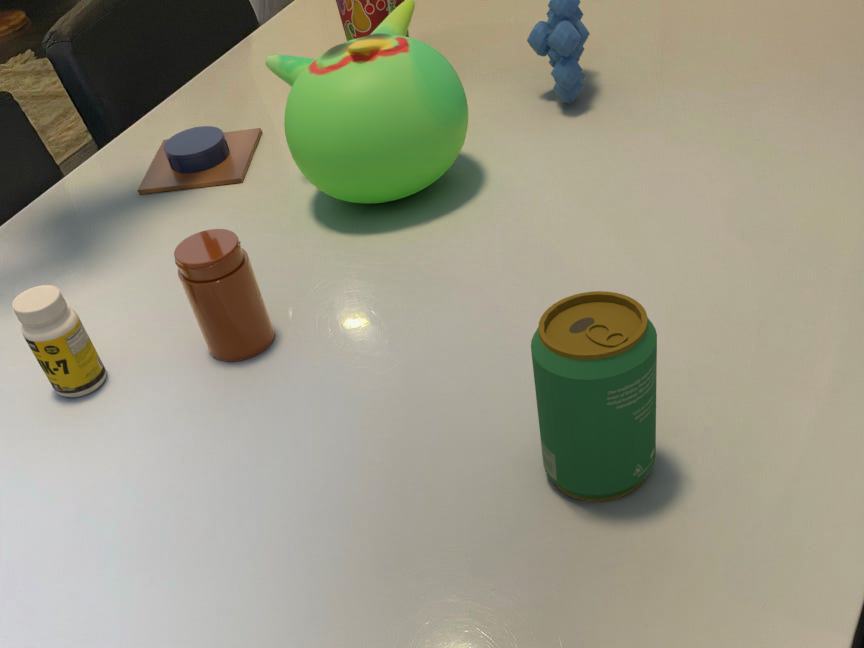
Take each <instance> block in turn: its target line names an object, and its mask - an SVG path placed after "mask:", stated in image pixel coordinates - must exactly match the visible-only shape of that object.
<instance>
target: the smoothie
mask: <svg viewBox="0 0 864 648" xmlns="http://www.w3.org/2000/svg"><path fill="white" fill-rule="evenodd" d="M404 1H406V0H335V2H336V6H337V10H338V13H339V18H340V20H341V24H342V28H343V32H344V35H345V38H346V39H345V40H346V42H347V41H350V40H353V39H357V38H361V37H366V36H368V35H370V34H371V33H372V32H373V31H374V30H375V29H376V28H377V27H378V26H379V25H380V24H381V23H382V22H383V20H384V19H385V18H386V17H387V16H388V15H389V14H390V13H391V12H392V11H393V10H394V9H395V8H396V7H397V6H399V5H400V4H401V3H402V2H404ZM406 37H410V33H409V29H408V30H407V33H406Z"/></svg>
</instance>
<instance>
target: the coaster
mask: <svg viewBox="0 0 864 648" xmlns="http://www.w3.org/2000/svg"><path fill="white" fill-rule="evenodd" d="M262 133H263V131H262V128H261V127H256V128H248V129H241V130H240V129H239V130H233V131H225V132H224V131H223V134H224V137H225V140H226V141H227V144H228V147H229V155H228V156H227V158H226V159H225V160H224V161H223V162H221V163H220V164H218V165H217V166H215V167H212V168H210V169H207V170H204V171H200V172H195V173H179V172H176V171H174V170H172V168H171V167H170V164H169V162H168V159H167V157H166V154H165V151H164V144H165V143H166V141H167V140H168V139H169V138H168V139H163V140H162V142H161V144H160V146H159V147H158V150H157V152H156V154H155V155H154V158H153V159H152V161H151V163H150V165H149V167H148V169H147V171H146V173H145V174H144V176H143V179H142V180H141V182H140V184H139V186H138V188H137V194H138V195H145V194H155V193H165V192H172V191H180V190H181V191H182V190H190V189H198V188H206V187H207V188H208V187H216V186H223V185H231V184H232V185H233V184H240V183H243V182H244V180H245V177H246V175H247V172H248V169H249V166H250V164H251V162H252V161H251V160H252V159H253V156H254V154H255V151H256V148H257V145H258V143H259V141H260V138H261V136H262Z"/></svg>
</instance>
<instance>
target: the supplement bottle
mask: <svg viewBox="0 0 864 648" xmlns="http://www.w3.org/2000/svg"><path fill="white" fill-rule="evenodd" d="M66 301H67V300H66V299H65V297H64V295H63V294H62V292H61V291H60V289H59V288H58V287H57V286H55V285H51V284H42V285H37V286H33V287H30V288H28V289H26V290H25V291H22V292H20V293H19V294H18V295H17V296H16V297H15V298H14V299H13V300H12V303H11V307H12V310H13V312H14V314H15V315H16V318H17V320H18V321H19V322H20V324H21V326H20V331H21V335H22V336H23V338H24V340H25V342H26V344H27V346H28V347H29V349H30V350H31V352H32V354H33V356H34V357H35V359H36V362H38V364H39V366H40V368H41V370H42V372H43V373H44V374H45V376H46V378H47V380H48V382H49V383H50V385H51V386H52V388H53V390H54V391H55V393H57V394H58V395H59V396H62V397H65V398H78V397H83V396H85V395H86V396H87V395H89V394H91V393H93V392H94V391H95V390H97V389H99V388H100V387H101V385H102V384H103V383H104V382H105V380H106V379H107V369H106V367H105V365H104V363H103V361H102V359H101V357H100V355H99V353H98V352H97V349H96V347H95V345H94V344H93V341H92V339H91V338H90V336H89V334H88V332H87V330H86V328H85V326H84V324H83V322H82V320H81V318H80V317H79V314H78V313H77V311H75V309H74V308H73V307H71V306H69V305H68V303H67V302H66Z"/></svg>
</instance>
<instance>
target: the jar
mask: <svg viewBox="0 0 864 648" xmlns="http://www.w3.org/2000/svg"><path fill="white" fill-rule="evenodd" d="M241 243H242V242H241V241H240V239H239V236H238V235H237V234H236V233H235V232H234V231H232V230H230V229H227V228H226V229H225V228H212V229H206V230H202V231H198V232H196V233H194V234H191V235H189V236H187V237H186V238H184V239H183V240H182V241H180V243H179V244H178V245H176V247H175V249H174V252H173V256H174V264H175V265H176V267H177V276H178V279H179V281H180V284H181V286H182V289H183V290H184V294H185V296H186V298H187V301H188V304H189V305H190V308H191V310H192V313H193V315H194V318H195V320H196V322H197V325H198V328H199V330H200V333H201V334H202V337H203V339H204V341H205V344H206V346H207V349H208V351H209V353H210V354H211V356H212V357H213V358H215V359H217V360H219V361H224V362H239V361H244V360H247V359H251V358H253V357H256V356H258V355H259V354H261V353H263V352H264V351H265V350H267V349H268V348H269V347H270V346H271V345H272V343H273V341H274V338H275V335H276V334H275V329H274V326H273V323H272V321H271V318H270V315H269V312H268V309H267V306H266V304H265V301H264V298H263V294H262V292H261V289H260V286H259V283H258V281H257V277H256V275H255V271H254V269H253V266H252V263H251V259H250V256H249V254H248V252H247V251H246V250H245V248H243V247H242V245H241Z"/></svg>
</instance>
